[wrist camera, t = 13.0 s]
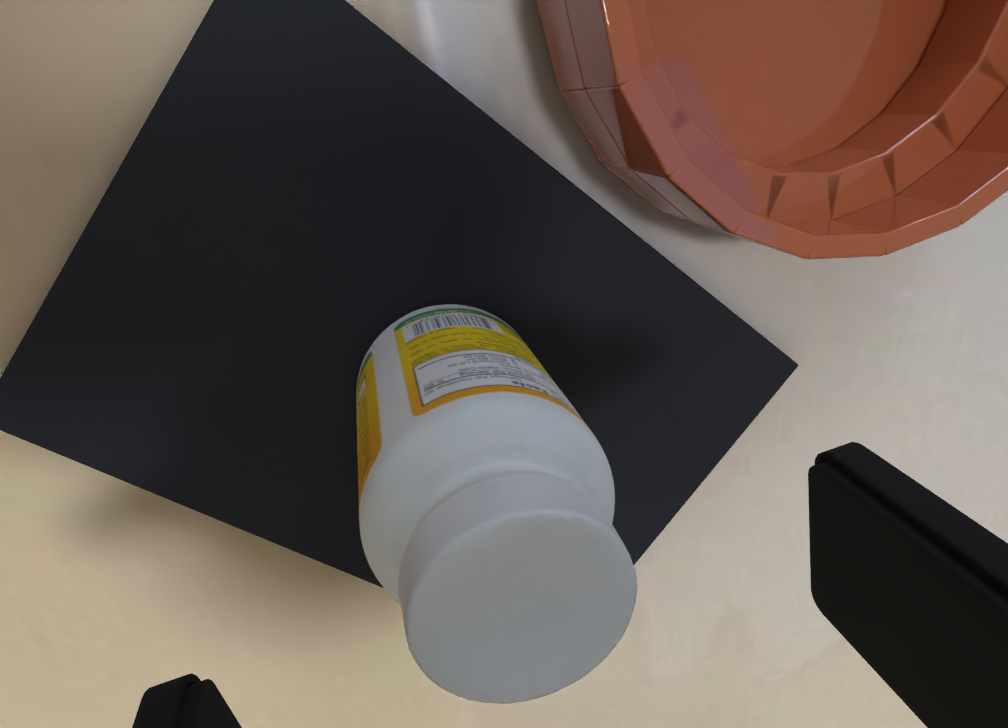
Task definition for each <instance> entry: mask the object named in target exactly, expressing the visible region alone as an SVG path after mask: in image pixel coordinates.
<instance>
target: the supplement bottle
mask: <svg viewBox="0 0 1008 728" xmlns="http://www.w3.org/2000/svg"><path fill="white" fill-rule="evenodd" d="M356 411H357V454H358V488H359V525H360V535H361V541H362V545H363V549H364V552H365V556H366V558H367V561H368V563H369V565H370V567H371V569H372V571H373V573H374V575H375V576H376V578H377V579H378V581H379V582H380V583H381V585H382V586H383V587H384V589H385V590H386V591H387V592H388V593H389V594H390V595H391V596H392V597H393V598H394V599H395V600H396V601H398V602H399V603H400V604H401V607H402V612H403V619H404V626H405V633H406V637H407V642H408V646H409V650H410V652H411V654H412V656H413V658H414V660H415V661H416V663H417V664H418V666H419V667H420V669H421V670H422V671H423V672H424V674H425V675H426V676H427V677H428V678H429V679H430V680H431V681H433V682H434V683H435V684H436V685H438V686H439V687H441V688H443V689H444V690H446V691H448V692H450V693H452V694H454V695H457V696H459V697H463V698H466V699H468V700H474V701H479V702H485V703H501V704H505V703H515V702H522V701H527V700H531V699H536V698H539V697H543V696H546V695H549V694H551V693H554V692H556V691H558V690H560V689H562V688H564V687H566V686H568V685H571V684H572V683H574V682H576V681H577V680H579V679H581V678H582V677H584V676H585V675H586V674H588V673H589V672H590V671H591V670H593V669H594V668H595V667H596V666H597V665H599V664H600V663H601V662H602V661H603V660H604V659H605V658H606V657H607V656H608V655H609V654H610V652H611V651H612V650H613V648H614V647H615V646H616V644H617V643H618V642H619V641H620V639H621V637H622V636H623V634H624V632H625V630H626V628H627V626H628V624H629V621H630V619H631V615H632V612H633V609H634V606H635V602H636V593H637V582H636V573H635V569H634V565H633V562H632V560H631V557H630V554H629V552H628V551H627V549H626V547H625V545H624V543H623V541H622V540H621V538H620V536H619V535H618V533H617V532H616V530H615V528H614V527H613V525H612V522H613V516H614V506H615V489H614V481H613V477H612V472H611V468H610V466H609V463H608V460H607V457H606V455H605V453H604V451H603V449H602V447H601V445H600V444H599V442H598V440H597V439H596V437H595V436H594V434H593V433H592V431H591V430H590V429H589V427H588V426H587V425H586V423H585V422H584V421H583V419H582V418H581V416H580V415H579V414H578V413H577V411H576V410H575V408H574V407H573V406H572V404H571V403H570V402H569V400H568V399H567V398H566V396H565V395H564V394H563V393H562V391H561V390H560V389H559V387H558V386H557V385H556V384H555V382H554V381H553V380H552V378H551V377H550V376H549V374H548V373H547V372H546V370H545V369H544V368H543V366H542V365H541V364H540V362H539V361H538V360H537V358H536V357H535V355H534V354H533V353H532V352H531V350H530V349H529V347H528V346H527V345H526V343H525V342H524V341H523V340H522V339H521V337H520V336H519V335H518V334H517V333H516V332H515V330H514V329H513V328H512V327H510V326H509V325H508V324H507V323H505V322H504V321H503V320H501V319H500V318H498V317H497V316H495V315H493V314H491V313H489V312H486V311H484V310H481V309H478V308H475V307H470V306H465V305H457V304H446V305H435V306H430V307H425V308H422V309H419V310H416V311H413V312H411V313H409V314H407V315H405V316H404V317H402V318H400V319H398V320H397V321H396V322H394V323H393V324H391V325H390V326H389V327H388V328H387V329H385V330H384V331H383V332H382V333H381V334H380V335H379V336H378V338H377V339H376V340H375V341H374V342H373V344H372V345H371V347H370V348H369V350H368V352H367V353H366V355H365V357H364V359H363V362H362V364H361V367H360V371H359V375H358V380H357V389H356Z"/></svg>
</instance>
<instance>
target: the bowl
mask: <svg viewBox="0 0 1008 728" xmlns="http://www.w3.org/2000/svg"><path fill="white" fill-rule="evenodd" d="M536 1H537V5H538V9H539V13H540V17H541V21H542V25H543V29H544V33H545V37H546V41H547V45H548V49H549V53H550V57H551V61H552V65H553V69H554V73H555V77H556V82H557V86H558V90H559V91H560V94H561V96H562V97H563V99H564V101H565V102H566V104H567V106H568V107H569V109H570V111H571V112H572V114H573V116H574V118H575V119H576V121H577V123H578V124H579V126H580V128H581V129H582V131H583V133H584V134H585V136H586V138H587V139H588V141H589V143H590V144H591V146H592V148H593V149H594V151H595V153H596V154H597V156H598V158H599V159H600V161H601V162H602V163H603V164H604V166H606V167H607V168H608V169H609V170H610V171H612V172H613V173H614V174H615V175H616V176H618V177H619V178H620V179H621V180H622V181H623V182H625V183H626V184H627V185H628V186H629V187H631V188H632V189H633V190H634V191H635V192H637V193H638V194H639V195H640V196H641V197H643V198H644V199H645V200H646V201H647V202H648V203H650V204H651V205H652V206H653V207H654V208H656V209H658V210H659V211H661V212H664V213H667V214H670V215H673V216H676V217H679V218H681V219H684V220H687V221H690V222H693V223H696V224H699V225H702V226H705V227H707V228H710V229H713V230H716V231H719V232H722V233H725V234H728V235H732V236H735V237H738V238H741V239H744V240H747V241H750V242H753V243H756V244H759V245H763V246H766V247H769V248H772V249H775V250H778V251H781V252H784V253H787V254H790V255H793V256H797V257H800V258H803V259H829V258H851V257H872V256H883V255H887V254H890V253H892V252H895V251H898V250H900V249H903V248H905V247H908V246H910V245H913V244H915V243H918V242H921V241H923V240H926V239H928V238H931V237H933V236H936V235H938V234H941V233H943V232H946V231H949V230H951V229H954V228H956V227H959V226H960V225H962V224H964V223H965V222H966V221H968V220H969V219H970V218H972V217H973V216H974V215H976V214H977V213H978V212H980V211H981V210H982V209H984V208H985V207H986V206H988V205H989V204H990V203H992V202H993V201H994V200H996V199H997V198H998V197H1000V196H1001V195H1002V194H1004V193H1005V192H1006V191H1008V0H536Z"/></svg>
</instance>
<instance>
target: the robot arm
mask: <svg viewBox="0 0 1008 728" xmlns="http://www.w3.org/2000/svg"><path fill="white" fill-rule="evenodd" d="M808 483H809V524H810V566H811V592H812V596H813V599H814V601H815V603H816V605H817V607H818V608H819V610H820V611H821V612H822V614H823V615H824V616H825V617H826V618H827V619H828V620H829V621H830V622H831V623H832V625H833V626H834V627H835V628H836V629H837V630H838V631H839V632H840V633H841V634H842V635H843V636H844V638H845V639H846V640H847V641H848V642H849V643H850V644H851V645H852V646H853V647H854V648H855V649H856V651H857V652H858V653H859V654H860V655H861V656H862V657H863V658H864V659H865V660H866V661H867V662H868V664H869V665H870V666H871V667H872V668H873V669H874V670H875V671H876V672H877V673H878V674H879V675H880V677H881V678H882V679H883V680H884V681H885V682H886V683H887V684H888V685H889V686H890V687H891V688H892V690H893V691H894V692H895V693H896V694H897V695H898V696H899V697H900V698H901V699H902V700H903V701H904V703H905V704H906V705H907V706H908V707H909V708H910V709H911V710H912V711H913V712H914V713H915V714H916V716H917V717H918V718H919V719H920V720H921V721H922V722H923V723H924V724H925V725H926V726H927V727H928V728H1008V543H1006V542H1005V541H1003V540H1002V539H1000V538H999V537H997V536H996V535H994V534H993V533H991V532H990V531H988V530H987V529H985V528H984V527H982V526H981V525H980V524H978V523H977V522H975V521H974V520H972V519H971V518H969V517H968V516H966V515H965V514H963V513H962V512H960V511H959V510H957V509H956V508H954V507H953V506H952V505H950V504H949V503H947V502H946V501H944V500H943V499H941V498H940V497H938V496H937V495H935V494H934V493H932V492H931V491H929V490H928V489H926V488H925V487H923V486H922V485H921V484H919V483H918V482H916V481H915V480H913V479H912V478H910V477H909V476H907V475H906V474H904V473H903V472H901V471H900V470H898V469H897V468H895V467H894V466H893V465H891V464H890V463H888V462H887V461H885V460H884V459H882V458H881V457H879V456H878V455H876V454H875V453H873V452H872V451H870V450H869V449H867V448H866V447H864V446H863V445H861V444H859V443H855V442H851V443H848V444H845V445H842V446H839V447H837V448H834V449H831V450H828V451H825V452H822V453H820V454H818V455H817V457H816V459H815V465H814V466H812V467H810V469H809V473H808ZM132 728H242V727H241V726H240V724H239V723H238V721H237V719H236V718H235V716H234V714H233V713H232V711H231V710H230V708H229V706H228V705H227V703H226V702H225V700H224V698H223V697H222V695H221V694H220V692H219V690H218V689H217V687H216V685H215V684H214V683H213V682H212V680H209V679H207V680H203V681H201V680H200V679H199V678H198V677H197V676H196V675H194V674H188V675H185V676H182V677H179V678H176V679H174V680H171V681H168V682H165V683H162V684H159V685H156V686H154V687H151V688H149V689H148V690H147V691H146V692H145V693H144V695H143V697H142V699H141V702H140V706H139V709H138V712H137V715H136V718H135V721H134V724H133V727H132Z"/></svg>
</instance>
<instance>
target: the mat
mask: <svg viewBox="0 0 1008 728" xmlns="http://www.w3.org/2000/svg"><path fill="white" fill-rule="evenodd" d="M446 304H457V305H465V306H470V307H475V308H478V309H481V310H484V311H486V312H489V313H491V314H493V315H495V316H497V317H498V318H500V319H501V320H503V321H504V322H505V323H507V324H508V325H509V326H510V327H512V328H513V329H514V330H515V332H516V333H517V334H518V335H519V336H520V337H521V339H522V340H523V341H524V342H525V343H526V345H527V346H528V347H529V349H530V350H531V352H532V353H533V354H534V355H535V357H536V358H537V360H538V361H539V362H540V364H541V365H542V366H543V368H544V369H545V370H546V372H547V373H548V374H549V376H550V377H551V378H552V380H553V381H554V382H555V384H556V385H557V386H558V387H559V389H560V390H561V391H562V393H563V394H564V395H565V396H566V398H567V399H568V400H569V402H570V403H571V404H572V406H573V407H574V408H575V410H576V411H577V413H578V414H579V415H580V416H581V418H582V419H583V421H584V422H585V423H586V425H587V426H588V427H589V429H590V430H591V431H592V433H593V434H594V436H595V437H596V439H597V440H598V442H599V444H600V445H601V447H602V449H603V451H604V453H605V455H606V457H607V460H608V463H609V466H610V468H611V472H612V477H613V481H614V489H615V506H614V516H613V522H612V525H613V527H614V528H615V530H616V532H617V533H618V535H619V536H620V538H621V540H622V541H623V543H624V545H625V547H626V549H627V551H628V552H629V554H630V557H631V560H632V562H633V565H634V564H635V563H636V562H637V561H638V559H639V558H640V557H641V556H642V555H643V553H644V552H645V551H646V550H647V548H648V547H649V546H650V545H651V544H652V542H653V541H654V540H655V539H656V538H657V536H658V535H659V534H660V533H661V531H662V530H663V529H664V528H665V527H666V525H667V524H668V523H669V522H670V521H671V519H672V518H673V517H674V516H675V514H676V513H677V512H678V511H679V510H680V508H681V507H682V506H683V505H684V504H685V502H686V501H687V500H688V499H689V497H690V496H691V495H692V494H693V493H694V491H695V490H696V489H697V488H698V487H699V485H700V484H701V483H702V482H703V481H704V479H705V478H706V477H707V476H708V474H709V473H710V472H711V471H712V470H713V468H714V467H715V466H716V465H717V464H718V462H719V461H720V460H721V459H722V457H723V456H724V455H725V454H726V453H727V451H728V450H729V449H730V448H731V447H732V445H733V444H734V443H735V442H736V440H737V439H738V438H739V437H740V436H741V434H742V433H743V432H744V431H745V430H746V428H747V427H748V426H749V425H750V423H751V422H752V421H753V420H754V419H755V417H756V416H757V415H758V414H759V413H760V411H761V410H762V409H763V408H764V406H765V405H766V404H767V403H768V402H769V400H770V399H771V398H772V397H773V396H774V394H775V393H776V392H777V391H778V389H779V388H780V387H781V386H782V385H783V383H784V382H785V381H786V380H787V379H788V377H789V376H790V375H791V374H792V373H793V371H794V370H795V369H796V368H797V366H798V364H797V363H795V362H794V361H793V360H792V359H790V358H789V357H788V356H787V355H785V354H784V353H783V352H782V351H780V350H779V349H778V348H777V347H776V346H774V345H773V344H772V343H771V342H769V341H768V340H767V339H766V338H764V337H763V336H762V335H761V334H759V333H758V332H757V331H756V330H754V329H753V328H752V327H751V326H749V325H748V324H747V323H746V322H744V321H743V320H742V319H741V318H739V317H738V316H737V315H736V314H734V313H733V312H732V311H731V310H729V309H728V308H727V307H726V306H724V305H723V304H722V303H721V302H720V301H718V300H717V299H716V298H715V297H713V296H712V295H711V294H710V293H708V292H707V291H706V290H705V289H703V288H702V287H701V286H700V285H698V284H697V283H696V282H695V281H693V280H692V279H691V278H690V277H688V276H687V275H686V274H685V273H683V272H682V271H681V270H680V269H678V268H677V267H676V266H675V265H673V264H672V263H671V262H670V261H668V260H667V259H666V258H665V257H664V256H662V255H661V254H660V253H659V252H657V251H656V250H655V249H654V248H652V247H651V246H650V245H649V244H647V243H646V242H645V241H644V240H642V239H641V238H640V237H639V236H637V235H636V234H635V233H634V232H632V231H631V230H630V229H629V228H627V227H626V226H625V225H624V224H622V223H621V222H620V221H619V220H617V219H616V218H615V217H614V216H613V215H611V214H610V213H609V212H608V211H606V210H605V209H604V208H603V207H601V206H600V205H599V204H598V203H596V202H595V201H594V200H593V199H591V198H590V197H589V196H588V195H586V194H585V193H584V192H583V191H581V190H580V189H579V188H578V187H576V186H575V185H574V184H573V183H571V182H570V181H569V180H568V179H566V178H565V177H564V176H563V175H561V174H560V173H559V172H558V171H557V170H555V169H554V168H553V167H552V166H550V165H549V164H548V163H547V162H545V161H544V160H543V159H542V158H540V157H539V156H538V155H537V154H535V153H534V152H533V151H532V150H530V149H529V148H528V147H527V146H525V145H524V144H523V143H522V142H520V141H519V140H518V139H517V138H515V137H514V136H513V135H512V134H510V133H509V132H508V131H507V130H506V129H504V128H503V127H502V126H501V125H499V124H498V123H497V122H496V121H494V120H493V119H492V118H491V117H489V116H488V115H487V114H486V113H484V112H483V111H482V110H481V109H479V108H478V107H477V106H476V105H474V104H473V103H472V102H471V101H469V100H468V99H467V98H466V97H464V96H463V95H462V94H461V93H459V92H458V91H457V90H456V89H454V88H453V87H452V86H451V85H450V84H448V83H447V82H446V81H445V80H443V79H442V78H441V77H440V76H438V75H437V74H436V73H435V72H433V71H432V70H431V69H430V68H428V67H427V66H426V65H425V64H423V63H422V62H421V61H420V60H418V59H417V58H416V57H415V56H413V55H412V54H411V53H410V52H408V51H407V50H406V49H405V48H403V47H402V46H401V45H400V44H398V43H397V42H396V41H395V40H394V39H392V38H391V37H390V36H389V35H387V34H386V33H385V32H384V31H382V30H381V29H380V28H379V27H377V26H376V25H375V24H374V23H372V22H371V21H370V20H369V19H367V18H366V17H365V16H364V15H362V14H361V13H360V12H359V11H357V10H356V9H355V8H354V7H352V6H351V5H350V4H349V3H347V2H346V1H345V0H214V1H213V3H212V5H211V6H210V8H209V10H208V12H207V13H206V15H205V17H204V19H203V21H202V22H201V24H200V26H199V28H198V29H197V31H196V33H195V35H194V36H193V38H192V40H191V42H190V44H189V45H188V47H187V49H186V51H185V52H184V54H183V56H182V58H181V59H180V61H179V63H178V65H177V67H176V68H175V70H174V72H173V74H172V75H171V77H170V79H169V81H168V83H167V84H166V86H165V88H164V90H163V91H162V93H161V95H160V97H159V98H158V100H157V102H156V104H155V106H154V107H153V109H152V111H151V113H150V114H149V116H148V118H147V120H146V121H145V123H144V125H143V127H142V129H141V130H140V132H139V134H138V136H137V137H136V139H135V141H134V143H133V144H132V146H131V148H130V150H129V152H128V153H127V155H126V157H125V159H124V160H123V162H122V164H121V166H120V167H119V169H118V171H117V173H116V175H115V176H114V178H113V180H112V182H111V183H110V185H109V187H108V189H107V190H106V192H105V194H104V196H103V198H102V199H101V201H100V203H99V205H98V206H97V208H96V210H95V212H94V213H93V215H92V217H91V219H90V221H89V222H88V224H87V226H86V228H85V229H84V231H83V233H82V235H81V236H80V238H79V240H78V242H77V244H76V245H75V247H74V249H73V251H72V252H71V254H70V256H69V258H68V259H67V261H66V263H65V265H64V267H63V268H62V270H61V272H60V274H59V275H58V277H57V279H56V281H55V283H54V284H53V286H52V288H51V290H50V291H49V293H48V295H47V297H46V298H45V300H44V302H43V304H42V306H41V307H40V309H39V311H38V313H37V314H36V316H35V318H34V320H33V321H32V323H31V325H30V327H29V329H28V330H27V332H26V334H25V336H24V337H23V339H22V341H21V343H20V344H19V346H18V348H17V350H16V352H15V353H14V355H13V357H12V359H11V360H10V362H9V364H8V366H7V367H6V369H5V371H4V373H3V375H2V376H1V378H0V430H2V431H4V432H6V433H9V434H11V435H14V436H16V437H19V438H21V439H23V440H26V441H28V442H31V443H33V444H36V445H38V446H40V447H43V448H45V449H48V450H50V451H53V452H55V453H57V454H60V455H62V456H65V457H67V458H70V459H72V460H74V461H77V462H79V463H82V464H84V465H87V466H89V467H91V468H94V469H96V470H99V471H101V472H104V473H106V474H108V475H111V476H113V477H116V478H118V479H121V480H123V481H125V482H128V483H130V484H133V485H135V486H138V487H140V488H142V489H145V490H147V491H150V492H152V493H155V494H157V495H159V496H162V497H164V498H167V499H169V500H172V501H174V502H176V503H179V504H181V505H184V506H186V507H189V508H191V509H193V510H196V511H198V512H201V513H203V514H206V515H208V516H210V517H213V518H215V519H218V520H220V521H223V522H225V523H227V524H230V525H232V526H235V527H237V528H239V529H242V530H244V531H247V532H249V533H252V534H254V535H256V536H259V537H261V538H264V539H266V540H269V541H271V542H273V543H276V544H278V545H281V546H283V547H286V548H288V549H290V550H293V551H295V552H298V553H300V554H303V555H305V556H307V557H310V558H312V559H315V560H317V561H320V562H322V563H324V564H327V565H329V566H332V567H334V568H337V569H339V570H341V571H344V572H346V573H349V574H351V575H354V576H356V577H358V578H361V579H363V580H366V581H368V582H371V583H373V584H375V585H378V586H380V587H383V586H382V585H381V583H380V582H379V581H378V579H377V578H376V576H375V575H374V573H373V571H372V569H371V567H370V565H369V563H368V561H367V558H366V556H365V552H364V549H363V545H362V541H361V535H360V525H359V488H358V454H357V411H356V389H357V380H358V375H359V371H360V367H361V364H362V362H363V359H364V357H365V355H366V353H367V352H368V350H369V348H370V347H371V345H372V344H373V342H374V341H375V340H376V339H377V338H378V336H379V335H380V334H381V333H382V332H383V331H384V330H385V329H387V328H388V327H389V326H390V325H391V324H393V323H394V322H396V321H397V320H398V319H400V318H402V317H404V316H405V315H407V314H409V313H411V312H413V311H416V310H419V309H422V308H425V307H430V306H435V305H446ZM383 588H384V587H383Z"/></svg>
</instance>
